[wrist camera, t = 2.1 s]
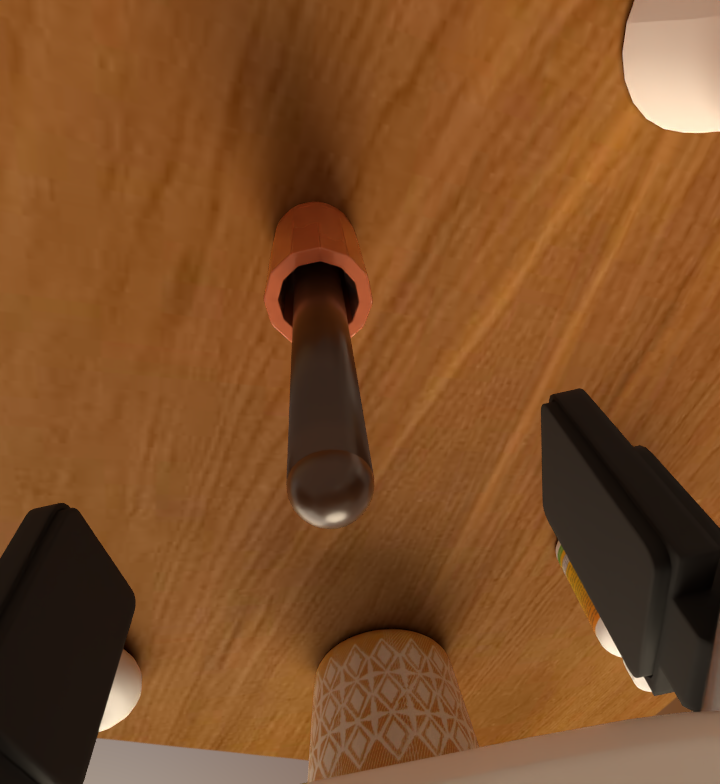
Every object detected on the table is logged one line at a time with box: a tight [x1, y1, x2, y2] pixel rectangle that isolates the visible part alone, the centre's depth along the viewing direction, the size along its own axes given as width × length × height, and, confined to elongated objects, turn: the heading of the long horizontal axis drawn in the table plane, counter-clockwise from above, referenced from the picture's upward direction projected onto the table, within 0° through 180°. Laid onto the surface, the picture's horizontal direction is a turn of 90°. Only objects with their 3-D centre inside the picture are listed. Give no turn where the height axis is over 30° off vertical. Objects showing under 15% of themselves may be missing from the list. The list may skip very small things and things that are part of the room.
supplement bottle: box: [556, 541, 652, 692], centre depth 34 cm, size 5×5×10 cm
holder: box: [264, 202, 373, 342], centre depth 22 cm, size 4×4×7 cm
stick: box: [287, 261, 374, 529], centre depth 17 cm, size 2×2×17 cm
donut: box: [99, 649, 142, 732], centre depth 39 cm, size 10×4×10 cm
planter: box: [308, 629, 479, 782], centre depth 40 cm, size 13×13×10 cm
